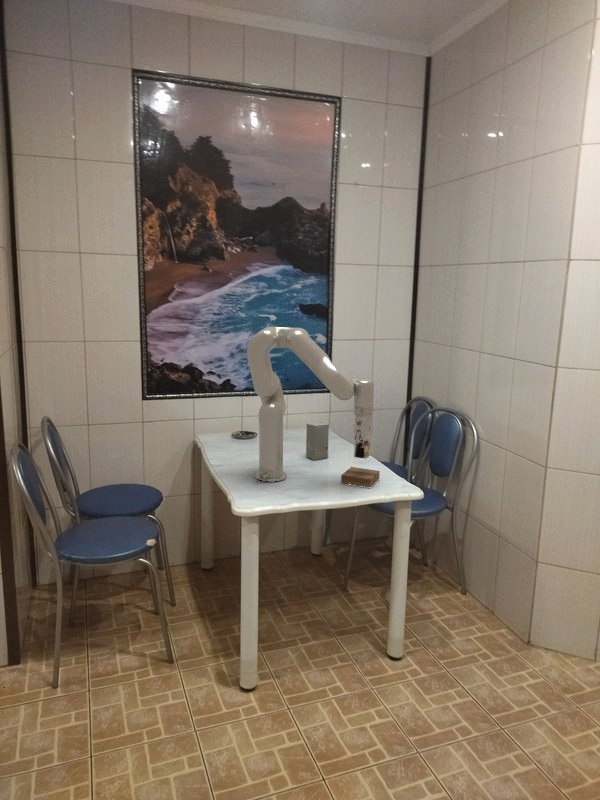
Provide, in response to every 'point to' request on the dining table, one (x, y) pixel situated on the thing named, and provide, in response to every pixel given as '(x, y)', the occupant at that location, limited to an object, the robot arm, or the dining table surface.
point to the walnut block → (360, 477)
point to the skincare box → (317, 440)
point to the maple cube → (366, 450)
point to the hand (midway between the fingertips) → (362, 455)
